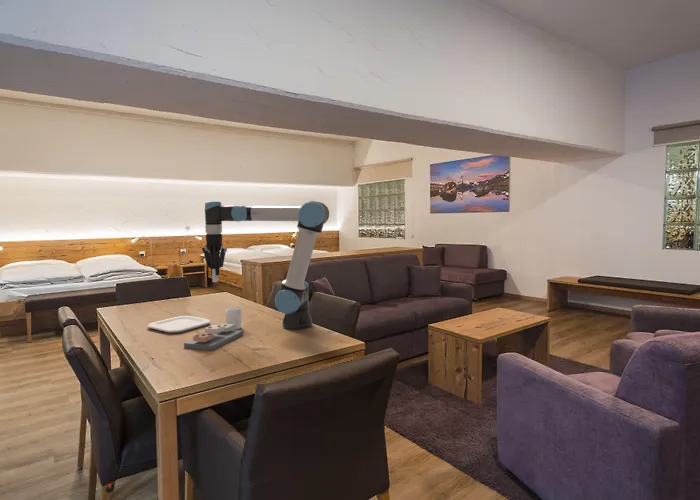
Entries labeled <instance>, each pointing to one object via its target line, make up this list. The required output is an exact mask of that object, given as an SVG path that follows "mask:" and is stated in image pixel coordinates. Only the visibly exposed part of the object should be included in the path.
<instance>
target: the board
mask: <svg viewBox="0 0 700 500" xmlns="http://www.w3.org/2000/svg"><path fill="white" fill-rule="evenodd" d="M212 334H214V333H212ZM242 336H244V330H241V329H236V330H231V331H229V332H219V333H217V334H214V338H213V339H211V340H209V341H207V342H197V341H193V338H192V339H189V340H188V341H185V342H184V343H183V348H185V349H187V348H188V349H194V350H195V349H196V350H203V351H204V350H205V351H213V350H214V351H215V350H216V349H218V348H220V347H222V346H223V345H226V344H228V343H230V342H232V341H233V340H237V339H238V338H240V337H242Z"/></svg>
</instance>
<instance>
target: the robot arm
mask: <svg viewBox="0 0 700 500" xmlns="http://www.w3.org/2000/svg"><path fill="white" fill-rule="evenodd" d="M329 217H330V210H329V207H328V206H327V205H326V204H324V202H320V201H316V200H310V201H309V200H308V201H307V202H305V203H303V204H302V205H298V206H297V205H239V204H237V205H235V204H234V205H232V204H231V205H222V202H221V201H216V200H215V201H209V200H207V201H206V202H205V203H204V218H205V223H204V224H205V228H204V229H205V233H206V234H205V241H206V244H205V246H204V247H202V248H201V250H202V252H203V256H204V259H205V260H204V261H205V264H206V267H207V268H209V269H210V275H211V278H212V279H211V280H212V283H218V282H219V281H220V280H219V276H220V269H221V268H224V263H225V257H226V253H227V251H228V248H227V247H224V245H223V242H222V241H223V234H222V233H223V226H222V225H223V223H222V222H251V221H252V222H297V226H296V228H297V229H298V233H297V238H296V241H295V245H294V250H293V253H292V255H291V261H290V263H289V267H288V269H287V270H288V271H287V275H286V278H285V279H283V280H282V281H281V284H280V287H279V291H278V292H277V293H276V295H275V298H274V305H275V307H276V308H277V310H278V311H279V312H280V313H283V314H284V316H283V319H282V328H284V329H287V330H295V331H296V330H297V331H299V330H305V329H309V328H311V327H312V326H313V320H312V316H311V313H310V311H309V307H310V306H309V299H310V298H309V289H310V287H309V282H307V281H305V279H306V277H307V273H308V271H309V270H308V269H309V266H310V263H311V259H312V255H313V251H314V248H315V243H316V240H317V237H318V236H319V235H320V234H322V231H323V227H324V224H326V223H327V222H328V220H329Z"/></svg>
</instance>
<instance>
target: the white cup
mask: <svg viewBox="0 0 700 500" xmlns="http://www.w3.org/2000/svg"><path fill="white" fill-rule="evenodd" d="M242 310H243V309H242V307H240V306H231V307H226V308H225V309H224V311H225V318H226V319H225V322H226V323H225V324H233V325H234V326H235V329H233V330H241V328H242Z"/></svg>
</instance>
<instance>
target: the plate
mask: <svg viewBox="0 0 700 500" xmlns="http://www.w3.org/2000/svg"><path fill="white" fill-rule="evenodd" d="M210 322H211V319H209V318H205V317H197V316H194V315H178V316H175V317H171V318H166V319H162V320H158V321H154V322H150V323H149V324H148V325H147V328H149V329H152V330H156V331H159V332H163V331H164V332H163V333H169V334H178V333H179V334H180V333H184V332H187V331H191V330H194V329H198V328H202V327H204V326H206V325H209V324H210Z"/></svg>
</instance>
